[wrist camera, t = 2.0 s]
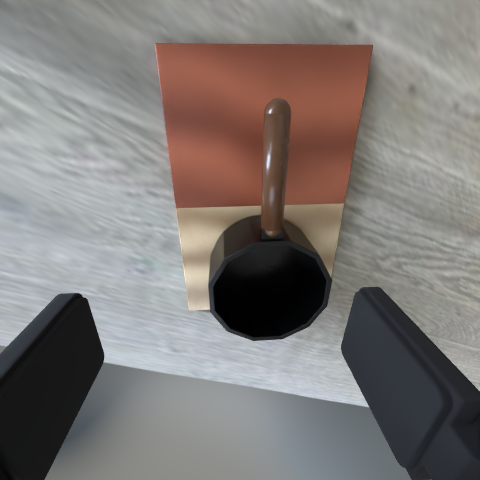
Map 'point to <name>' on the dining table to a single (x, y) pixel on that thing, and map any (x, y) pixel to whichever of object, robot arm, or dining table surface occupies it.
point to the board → (257, 139)
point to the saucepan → (268, 255)
